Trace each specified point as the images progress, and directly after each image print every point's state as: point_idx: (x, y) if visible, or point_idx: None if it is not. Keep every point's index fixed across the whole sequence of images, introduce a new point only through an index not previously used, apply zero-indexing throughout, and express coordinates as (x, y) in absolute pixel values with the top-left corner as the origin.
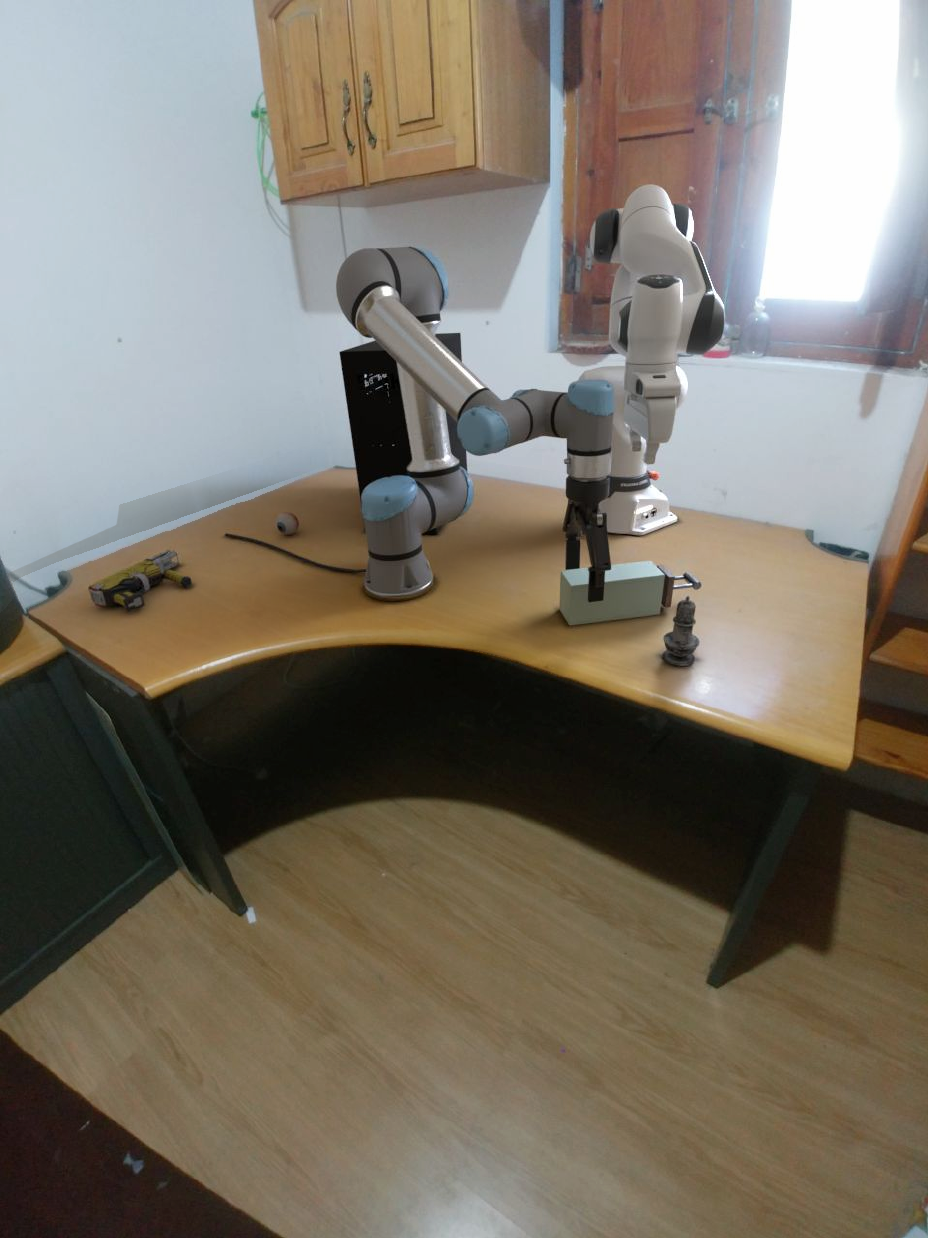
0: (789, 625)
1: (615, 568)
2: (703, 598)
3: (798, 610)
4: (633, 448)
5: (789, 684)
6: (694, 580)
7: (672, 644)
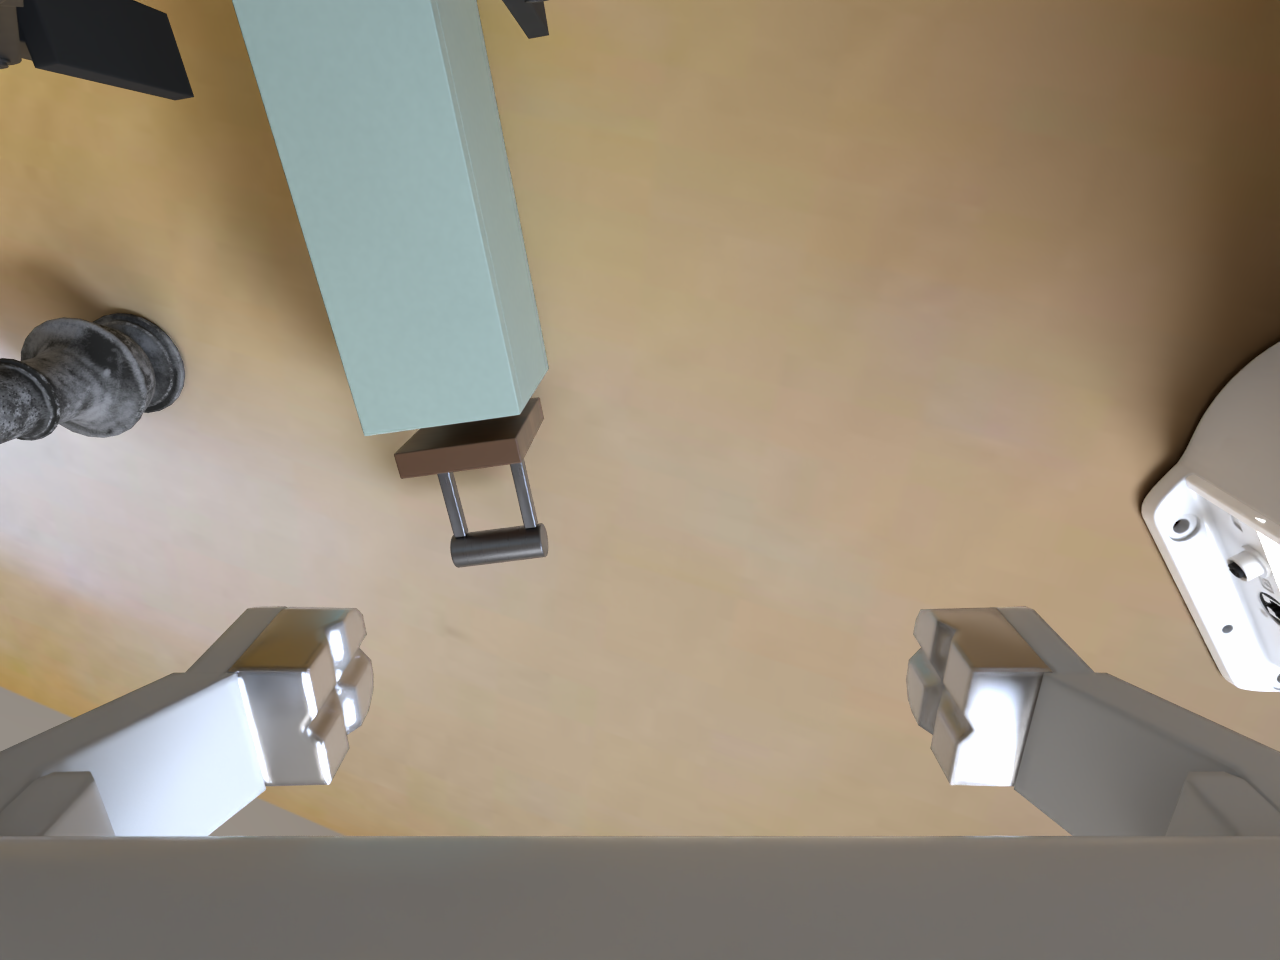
0: (368, 719)
1: (429, 221)
2: (540, 560)
3: (455, 771)
4: (932, 635)
5: (59, 605)
6: (468, 551)
7: (36, 338)
